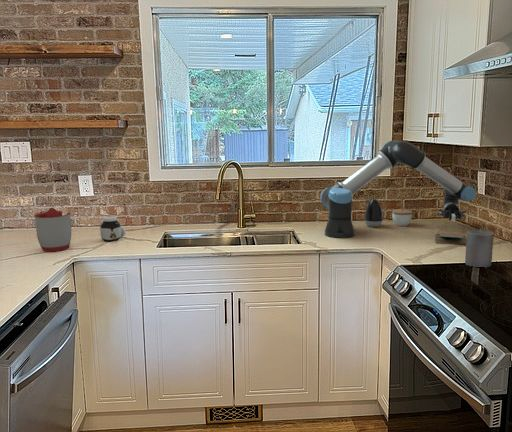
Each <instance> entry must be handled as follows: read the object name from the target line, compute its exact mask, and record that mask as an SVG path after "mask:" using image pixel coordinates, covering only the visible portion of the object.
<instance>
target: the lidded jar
mask: <svg viewBox="0 0 512 432" xmlns="http://www.w3.org/2000/svg"><path fill="white" fill-rule="evenodd" d="M412 216H413V211H412V210H408V209H404V208H400V209H393V210H392V216H391V218H392V222H394V224H395V225H396V226H400V227H405V226H406V227H407V226H408V225H409V224H410V223H411V221H412Z"/></svg>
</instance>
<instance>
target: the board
mask: <svg viewBox="0 0 512 432" xmlns="http://www.w3.org/2000/svg"><path fill="white" fill-rule="evenodd" d="M434 237H435V244H444V245H457V246H458V245H459V246H466V242H467V236H466V235H465V234H463V238H458V237H442V236H440V233H435V235H434Z"/></svg>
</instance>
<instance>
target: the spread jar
mask: <svg viewBox="0 0 512 432" xmlns="http://www.w3.org/2000/svg"><path fill="white" fill-rule="evenodd" d="M99 232H100V237H101V239H102V240H103V241H104V242H109V243H110V242H111V243H112V242H117V241H119V240H120V239H121V238H122V237H124V236H125V235H126V234H127V233H126V232H127V231H126V228H125V226H123V225H121V223H120V222H119V221H118V217H117V216H115V215H114V216H112V215H111V216H104V217H102V222H101V224H100V226H99Z"/></svg>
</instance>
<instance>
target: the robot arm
mask: <svg viewBox="0 0 512 432" xmlns="http://www.w3.org/2000/svg"><path fill="white" fill-rule="evenodd" d="M399 164H400V165H401V164H402V165H405V166H407V167H409V168H410V169H412V170H417V171H419V173H422V174H423V175H425V176H426V177H427V178H429V179H431V180H432V181H434V182H435V183H436V184H438V186H439V185H440V186H441V187H442V188H443V189H444V197H443V206H442V209H439V215H440V216H442V217H443V218H445V219H448V220H449V221H451V222H453V223H454V222H456V220H458V219H459V220H462V219H463V217H466V210H462V211H461V210H460V208H459V201H460V200H462V201H465V202H471V201H472V200H474V199H475V197H476V196H477V195H476V194H477V193H476V189H475V188H474V187H472V186H469V185H468V184H465V183H464V182H462V181H461V180H460V179H458V178H457V177H455V176H454V175H452V174H451V173H450V172H448V171H447V170H445V169H444V168H442V167H441V166H439V165H438V164H437V163H435V162H434V161H433V160H431V159H429V158H428V157H427V156H426V153H425V152H423V151H422V150H421V149H419V148H418V147H417V146H415V145H414V144H412V143H411V142H409V141H406V140H404V141H403V140H397V139H396V140H395V139H393V140H390V141H387V142H386V143H384V144H383V146H382V147H381V149H380V150H378V152H377V155H376V156H375V157H374V158H372V159H371V160H370V161H369V162H367V163H365V164H364V165H363V166H361V168H359V169H358V170H356V171H355V172H354V173H353V174H351V175H350V176H349V177H347V178H346V179H345V180H343V181H341V182H339V181H338V182H336V183H334V184H333V185H332V186H328V187H326V188H324V189H323V190H322V191H321V193H320V203H321V205H323V207H324V208H325V209H327V210H328V220H327V221H326V222H327V223H326V226H325V229H324V235H325V236H326V237H329V238H336V239H337V238H342V239H343V238H351V237H354V236H355V229H354V225H353V221H352V208H353V207H352V206H353V195H354V194H355V193H356V192H358V191H359V190H361V189H362V188H364V186H366V185H367V184H369V183H370V182H371V181H373V180H375V178H376V177H378V176H380V174H382V173H383V172H385V171H386V170H387V169H390V170H392V169H393V168H394V167H396V166H398V165H399Z"/></svg>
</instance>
